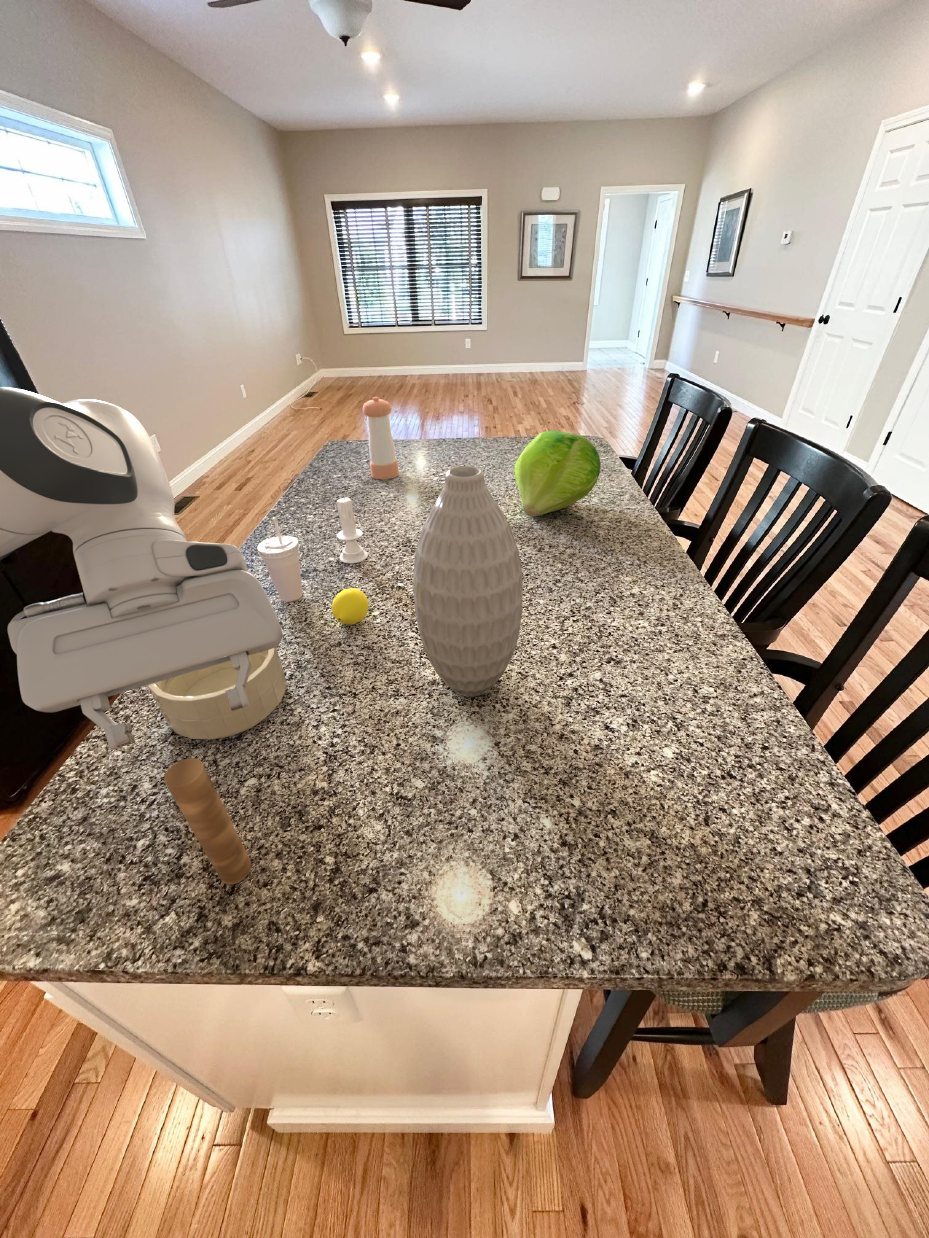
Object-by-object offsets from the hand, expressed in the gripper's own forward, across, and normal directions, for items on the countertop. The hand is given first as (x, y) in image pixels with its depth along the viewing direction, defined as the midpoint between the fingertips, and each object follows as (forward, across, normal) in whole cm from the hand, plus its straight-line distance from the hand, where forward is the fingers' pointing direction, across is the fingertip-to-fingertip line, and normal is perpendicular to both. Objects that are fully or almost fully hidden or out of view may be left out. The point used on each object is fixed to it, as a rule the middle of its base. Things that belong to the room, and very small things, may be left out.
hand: (184, 726), depth 45 cm
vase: (+5, +31, +14) cm, 34 cm away
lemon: (-10, +21, +29) cm, 37 cm away
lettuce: (-25, +74, +44) cm, 90 cm away
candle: (-25, +28, +44) cm, 57 cm away
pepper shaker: (-54, +48, +72) cm, 102 cm away
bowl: (-3, +2, +22) cm, 22 cm away
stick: (+14, 0, +5) cm, 15 cm away
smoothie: (-19, +14, +38) cm, 44 cm away
